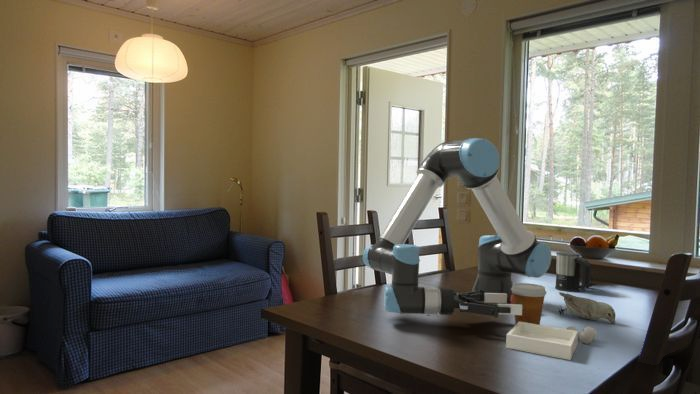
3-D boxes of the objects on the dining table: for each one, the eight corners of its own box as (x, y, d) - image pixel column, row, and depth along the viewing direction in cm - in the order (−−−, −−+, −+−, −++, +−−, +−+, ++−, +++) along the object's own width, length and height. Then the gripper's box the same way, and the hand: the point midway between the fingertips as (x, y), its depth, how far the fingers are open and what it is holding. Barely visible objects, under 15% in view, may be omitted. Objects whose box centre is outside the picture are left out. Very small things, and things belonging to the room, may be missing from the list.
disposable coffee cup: (508, 329, 135) (510, 287, 134) (510, 321, 143) (512, 281, 143) (545, 334, 131) (546, 290, 131) (545, 326, 140) (546, 284, 140)
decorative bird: (613, 326, 142) (614, 301, 142) (555, 316, 152) (556, 293, 152) (616, 322, 147) (617, 298, 147) (560, 313, 156) (561, 290, 156)
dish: (505, 347, 119) (506, 334, 119) (518, 333, 132) (519, 321, 131) (570, 360, 111) (571, 345, 111) (577, 343, 124) (578, 331, 124)
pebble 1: (564, 338, 128) (565, 326, 128) (566, 335, 131) (566, 324, 131) (577, 341, 126) (578, 329, 126) (579, 338, 129) (579, 326, 129)
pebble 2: (578, 343, 124) (578, 331, 124) (579, 340, 127) (579, 328, 127) (591, 346, 122) (592, 333, 122) (592, 343, 125) (593, 330, 125)
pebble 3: (581, 340, 127) (581, 327, 127) (582, 337, 130) (583, 324, 130) (595, 342, 125) (596, 329, 125) (596, 339, 128) (597, 326, 128)
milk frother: (551, 289, 195) (552, 252, 195) (563, 284, 207) (565, 249, 207) (589, 295, 186) (590, 256, 186) (599, 289, 198) (601, 253, 198)
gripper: (431, 303, 150) (500, 306, 149) (445, 326, 125) (528, 329, 124) (432, 279, 150) (501, 282, 149) (446, 297, 125) (529, 300, 124)
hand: (513, 303), depth 137 cm, fingers open, 13 cm apart
